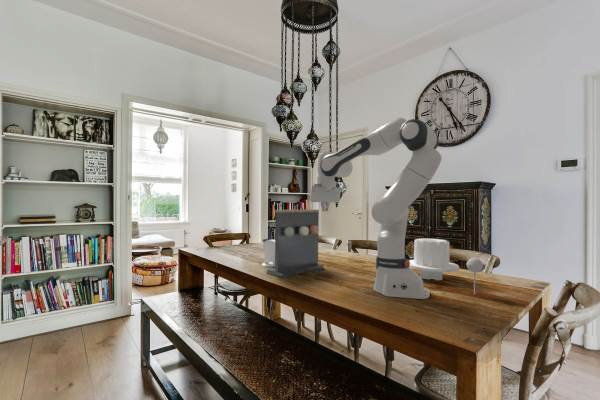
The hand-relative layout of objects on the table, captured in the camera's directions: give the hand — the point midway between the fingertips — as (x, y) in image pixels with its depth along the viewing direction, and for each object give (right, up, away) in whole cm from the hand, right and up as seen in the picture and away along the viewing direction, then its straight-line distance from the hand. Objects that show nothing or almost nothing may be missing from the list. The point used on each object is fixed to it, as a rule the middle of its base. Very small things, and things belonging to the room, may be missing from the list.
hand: (325, 211), depth 156 cm
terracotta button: (-5, -13, +16) cm, 21 cm away
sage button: (-19, -13, +1) cm, 23 cm away
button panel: (-14, -33, +10) cm, 37 cm away
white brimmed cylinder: (+54, -34, -1) cm, 63 cm away
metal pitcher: (-30, -33, +26) cm, 51 cm away
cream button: (-11, -13, +8) cm, 19 cm away
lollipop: (+59, -33, -30) cm, 74 cm away
